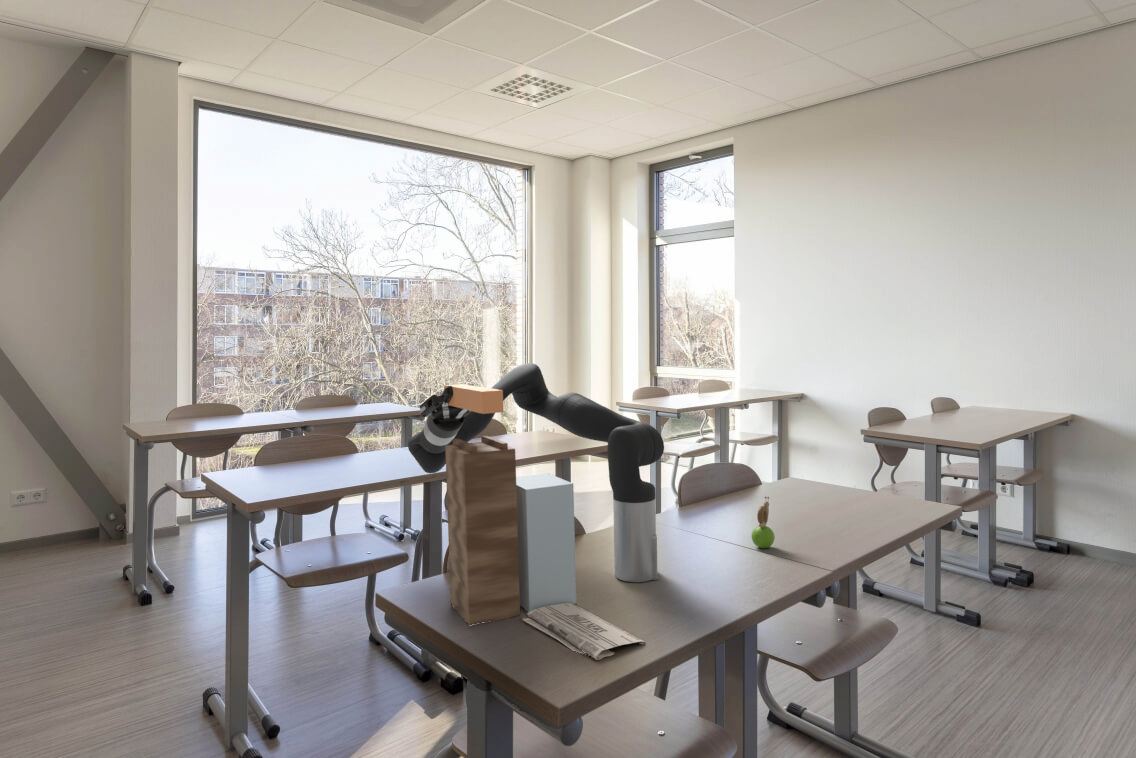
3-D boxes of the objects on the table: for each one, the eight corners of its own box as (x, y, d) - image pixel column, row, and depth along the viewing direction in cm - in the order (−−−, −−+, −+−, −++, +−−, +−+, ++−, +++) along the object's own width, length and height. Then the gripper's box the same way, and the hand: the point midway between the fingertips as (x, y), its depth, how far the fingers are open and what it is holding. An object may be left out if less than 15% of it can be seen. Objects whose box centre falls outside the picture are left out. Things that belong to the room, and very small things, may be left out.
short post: (507, 592, 143) (503, 478, 141) (550, 584, 147) (547, 473, 146) (529, 613, 132) (526, 489, 130) (576, 603, 136) (573, 483, 135)
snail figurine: (778, 545, 170) (778, 497, 169) (770, 552, 165) (770, 503, 164) (756, 542, 173) (756, 495, 172) (748, 549, 168) (748, 500, 167)
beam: (444, 404, 145) (443, 385, 145) (462, 402, 147) (462, 384, 146) (482, 413, 123) (481, 391, 123) (503, 412, 125) (502, 390, 125)
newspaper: (518, 623, 129) (519, 610, 129) (572, 614, 136) (573, 601, 136) (590, 669, 110) (591, 654, 110) (648, 656, 117) (649, 641, 117)
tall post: (450, 604, 137) (445, 439, 135) (497, 594, 142) (492, 434, 140) (469, 626, 127) (463, 447, 125) (520, 615, 131) (515, 442, 129)
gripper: (408, 410, 152) (424, 374, 138) (470, 406, 159) (491, 370, 145) (414, 441, 149) (430, 407, 135) (476, 436, 156) (498, 402, 142)
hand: (462, 389), depth 140 cm, fingers closed on beam, 4 cm apart
